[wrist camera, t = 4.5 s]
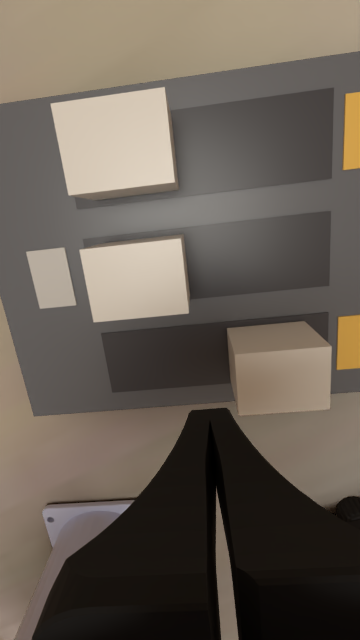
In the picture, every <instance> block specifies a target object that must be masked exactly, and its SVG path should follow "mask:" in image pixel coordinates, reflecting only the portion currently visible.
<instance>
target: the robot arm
mask: <svg viewBox="0 0 360 640" xmlns="http://www.w3.org/2000/svg"><path fill="white" fill-rule="evenodd" d="M216 488H217V493H218V498H219V504H220V509H221V514H222V519H223V525H224V530H225V535H226V540H227V546H228V551H229V557H230V564H231V571H232V581H233V590H234V599H235V609H236V618H237V627H238V637H239V640H360V530H359V529H357V528H355V527H354V526H352V525H350V524H348V523H346V522H345V521H343V520H341V519H340V518H338V517H337V516H335V515H333V514H332V513H330V512H329V511H327V510H326V509H324V508H323V507H321V506H320V505H318V504H317V503H316V502H314V501H313V500H312V499H310V498H309V497H308V496H306V495H305V494H303V493H302V492H301V491H299V490H298V489H297V488H296V487H295V486H293V485H292V484H291V483H290V482H289V481H287V480H286V479H285V478H284V477H283V476H282V475H281V474H280V473H279V472H278V471H277V470H275V469H274V468H273V467H272V466H271V465H270V464H269V462H268V461H267V460H266V459H265V458H264V457H263V456H262V455H261V454H260V453H259V452H258V450H257V449H256V448H255V447H254V446H253V445H252V443H251V442H250V441H249V439H248V438H247V437H246V436H245V434H244V433H243V432H242V430H241V429H240V427H239V426H238V424H237V423H236V421H235V420H234V418H233V416H232V414H231V413H230V410H228V409H227V408H217V409H204V410H192V411H191V412H190V413H189V415H188V418H187V421H186V423H185V426H184V428H183V430H182V432H181V434H180V436H179V438H178V440H177V442H176V444H175V446H174V448H173V449H172V451H171V453H170V454H169V456H168V457H167V459H166V461H165V462H164V464H163V465H162V467H161V468H160V470H159V471H158V473H157V474H156V475H155V477H154V478H153V479H152V481H151V482H150V483H149V484H148V486H147V487H146V488H145V489H144V490H143V492H142V493H141V494H140V495H139V496H138V497H137V498H136V500H124V501H106V502H88V503H71V504H53V505H47V506H45V508H44V510H43V512H42V515H43V518H44V521H45V525H46V528H47V531H48V535H49V538H50V541H51V545H52V548H53V549H52V552H51V554H50V556H49V559H48V561H47V563H46V566H45V568H44V571H43V573H42V575H41V578H40V580H39V582H38V585H37V587H36V589H35V592H34V594H33V596H32V599H31V601H30V603H29V606H28V608H27V611H26V613H25V615H24V618H23V620H22V622H21V625H20V627H19V629H18V632H17V634H16V636H15V639H14V640H221V631H220V617H219V604H218V590H217V576H216V552H215V551H216Z"/></svg>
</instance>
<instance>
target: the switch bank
mask: <svg viewBox="0 0 360 640" xmlns="http://www.w3.org/2000/svg"><path fill="white" fill-rule="evenodd" d="M161 87H165V91H166V95H167V100H168V104H169V109H170V113H171V118H172V128H173V138H174V147H175V157H176V166H177V176H178V185H179V190H175V191H167V192H159V193H151V194H143V195H134V196H126V197H118V198H110V199H102V200H91V199H85V198H80V197H74V196H69V195H68V190H67V185H66V180H65V175H64V170H63V165H62V160H61V155H60V150H59V145H58V140H57V135H56V129H55V124H54V119H53V114H52V109H51V103H58V102H65V101H72V100H78V99H85V98H92V97H99V96H106V95H113V94H120V93H127V92H134V91H140V90H147V89H154V88H161ZM180 234H184V243H185V253H186V262H187V272H188V281H189V291H190V302H189V313H188V314H178V315H167V316H157V317H146V318H136V319H125V320H115V321H104V322H93V317H92V312H91V307H90V302H89V296H88V291H87V286H86V281H85V276H84V271H83V266H82V261H81V256H80V251H79V250H80V249H84V248H87V247H91V246H95V245H98V244H102V243H109V242H118V241H127V240H135V239H144V238H153V237H162V236H171V235H180ZM0 296H1V299H2V303H3V307H4V310H5V314H6V317H7V321H8V325H9V328H10V332H11V335H12V339H13V343H14V346H15V350H16V353H17V357H18V361H19V364H20V368H21V371H22V375H23V379H24V382H25V386H26V389H27V393H28V397H29V400H30V404H31V407H32V411H33V415H34V416H45V415H58V414H71V413H85V412H98V411H111V410H124V409H137V408H150V407H164V406H177V405H190V404H203V403H216V402H229V401H235V397H234V393H233V388H232V384H231V380H230V366H229V352H228V339H227V328H233V327H244V326H255V325H266V324H277V323H288V322H299V321H305V322H306V323H307V324H308V325H309V326H310V327H311V328H313V329H314V330H315V331H316V332H317V333H318V334H319V335H320V336H321V337H322V338H323V339H324V340H325V341H326V342H328V343H329V344H330V345H331V346H332V354H331V391H330V394H334V393H348V392H360V51H358V52H351V53H344V54H338V55H331V56H324V57H317V58H310V59H303V60H297V61H290V62H283V63H276V64H269V65H263V66H256V67H249V68H242V69H235V70H228V71H222V72H215V73H208V74H201V75H194V76H188V77H181V78H174V79H167V80H160V81H153V82H147V83H140V84H133V85H126V86H119V87H113V88H106V89H99V90H92V91H85V92H78V93H72V94H65V95H58V96H51V97H44V98H38V99H31V100H24V101H17V102H10V103H3V104H0Z"/></svg>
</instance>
